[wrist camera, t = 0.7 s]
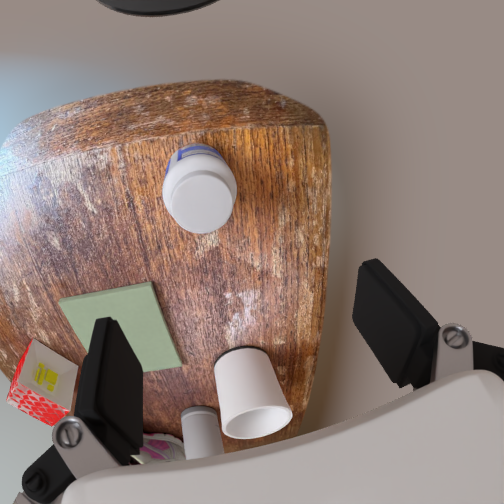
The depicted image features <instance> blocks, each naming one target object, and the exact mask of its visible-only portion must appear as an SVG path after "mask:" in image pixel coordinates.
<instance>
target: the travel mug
mask: <svg viewBox="0 0 504 504" xmlns="http://www.w3.org/2000/svg"><path fill="white" fill-rule="evenodd" d="M181 421H182V430H183V439H184V448H185V456H186V460H189V459H196V458H203V457H210V456H216V455H221V454H224V449H223V444H222V439H221V434H220V429H219V424H218V419H217V413H216V411H215V410H214V409H212V408H210V407H206V406H194V407H190V408H188V409H186V410H184V411H183V412H182V414H181Z"/></svg>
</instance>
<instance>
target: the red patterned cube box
mask: <svg viewBox="0 0 504 504" xmlns="http://www.w3.org/2000/svg"><path fill="white" fill-rule="evenodd" d="M77 371H78V366H77V365H76V364H74V363H72V362H71V361H69V360H67V359H66V358H64V357H62V356H61V355H59V354H57V353H56V352H54V351H53V350H51V349H49V348H48V347H46V346H45V345H43V344H42V343H40V342H39V341H37V340H36V339H34V338H33V339H32V341H31V342H30V344H29V346H28V347H27V349H26V351H25V353H24V354H23V356H22V358H21V360H20V361H19V363H18V366H17V369H16V372H15V374H14V378H13V381H12V383H11V386H10V391H9V393H8V396H7V400H6V401H7V402H8V403H9V404H11V405H13V406H14V407H16V408H18V409H20V410H21V411H23V412H25V413H27V414H29V415H30V416H33V417H34V418H36V419H38V420H40V421H42V422H44V423H46V424H48V425H50V426H53V425H55V424H56V423H57V422H58V421H59V420H60V419H61V418H63V417H64V416H65V415H66V414H67V413H68V412H69V411H70V409H71V403H72V397H73V391H74V386H75V381H76V376H77Z"/></svg>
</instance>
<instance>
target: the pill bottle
mask: <svg viewBox="0 0 504 504" xmlns="http://www.w3.org/2000/svg"><path fill="white" fill-rule="evenodd" d="M162 194H163V200H164V204H165V206H166V208H167V210H168V212H169V213H170V214H171V216H172V217H173V218H174V219H175V220H176V222H177V223H178V224H179V225H180V226H181V227H182V228H184V229H185V230H187V231H190V232H193V233H198V234H204V233H210V232H213V231H215V230H217V229H219V228H220V227H222V226H223V225H224V224H225V223H226V222H227V220H228V219H229V217H230V216H231V213H232V210H233V205H234V203H235V200H236V196H237V185H236V181H235V178H234V175H233V173H232V171H231V170H230V168H229V167H228V165H227V164H226V162H225V161H224V159H223V158H222V156H221V155H220V154H219V152H218V151H217V150H216V149H214V148H213V147H211V146H209V145H207V144H204V143H191V144H187V145H185V146H183V147H181V148H179V149H178V150H177V151H176V152H175V153H174V154H173V155H172V156H171V158H170V160H169V162H168V164H167V168H166V173H165V178H164V183H163V190H162Z"/></svg>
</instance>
